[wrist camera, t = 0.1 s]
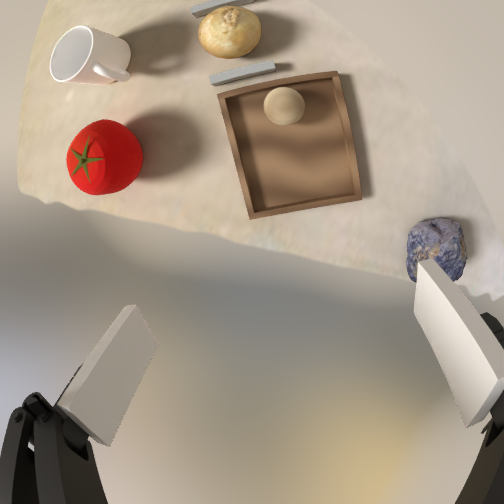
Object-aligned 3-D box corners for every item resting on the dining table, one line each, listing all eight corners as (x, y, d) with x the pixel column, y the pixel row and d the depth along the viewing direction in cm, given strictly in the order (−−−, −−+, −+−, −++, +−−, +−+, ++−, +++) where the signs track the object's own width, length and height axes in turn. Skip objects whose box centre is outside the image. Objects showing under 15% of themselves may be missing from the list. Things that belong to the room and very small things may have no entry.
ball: (260, 94, 31) (257, 89, 27) (298, 87, 30) (300, 80, 26) (269, 129, 33) (267, 129, 29) (307, 122, 32) (311, 121, 28)
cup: (111, 32, 28) (72, 18, 19) (158, 60, 30) (122, 46, 21) (83, 73, 31) (42, 69, 22) (126, 105, 33) (84, 104, 24)
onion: (264, 61, 30) (259, 46, 23) (205, 65, 30) (189, 53, 24) (261, 13, 26) (257, -9, 20) (205, 19, 27) (189, 0, 21)
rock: (406, 292, 39) (442, 295, 29) (392, 230, 40) (426, 218, 30) (451, 274, 39) (488, 272, 29) (439, 217, 40) (473, 205, 30)
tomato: (139, 197, 40) (100, 220, 30) (91, 169, 38) (47, 185, 29) (164, 135, 35) (126, 141, 26) (112, 111, 34) (66, 112, 24)
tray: (220, 95, 32) (216, 94, 30) (334, 73, 29) (337, 70, 27) (251, 215, 39) (249, 219, 37) (358, 196, 36) (362, 199, 34)
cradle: (194, 12, 26) (190, 7, 25) (252, -4, 25) (250, -10, 23) (214, 86, 32) (210, 84, 30) (275, 71, 30) (275, 68, 28)
